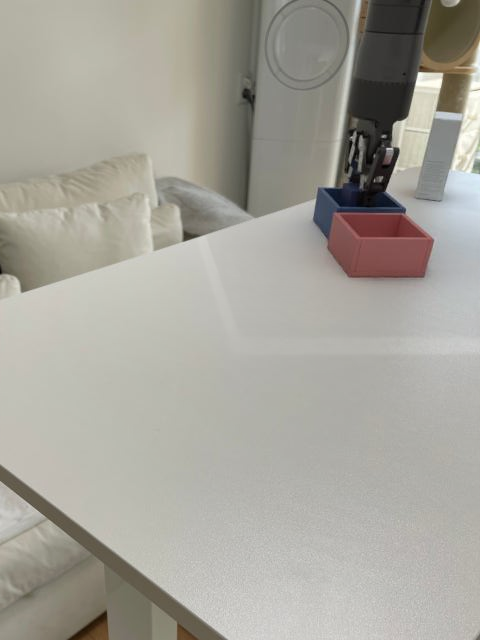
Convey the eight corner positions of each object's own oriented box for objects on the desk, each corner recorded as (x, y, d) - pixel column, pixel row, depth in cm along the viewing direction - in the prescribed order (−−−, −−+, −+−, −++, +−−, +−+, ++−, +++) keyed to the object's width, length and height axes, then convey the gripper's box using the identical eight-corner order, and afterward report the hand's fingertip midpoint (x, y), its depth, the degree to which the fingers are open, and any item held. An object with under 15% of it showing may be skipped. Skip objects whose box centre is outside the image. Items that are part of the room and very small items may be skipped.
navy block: (365, 212, 91) (371, 183, 89) (374, 221, 88) (381, 191, 85) (337, 212, 91) (343, 182, 88) (346, 221, 88) (351, 191, 85)
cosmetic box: (415, 188, 109) (435, 110, 102) (442, 192, 108) (463, 113, 101) (413, 198, 105) (433, 117, 98) (441, 201, 103) (463, 120, 96)
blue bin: (374, 220, 95) (381, 187, 92) (398, 243, 87) (406, 208, 84) (312, 219, 94) (318, 187, 92) (330, 243, 86) (337, 208, 84)
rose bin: (395, 248, 85) (404, 213, 83) (424, 277, 77) (434, 239, 75) (327, 247, 85) (333, 212, 82) (348, 276, 77) (356, 238, 74)
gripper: (438, 84, 74) (402, 233, 84) (394, 68, 85) (366, 200, 95) (374, 82, 73) (345, 232, 83) (338, 66, 85) (316, 200, 95)
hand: (356, 214), depth 89 cm, fingers closed on navy block, 4 cm apart
